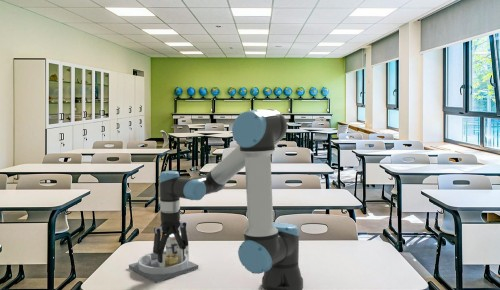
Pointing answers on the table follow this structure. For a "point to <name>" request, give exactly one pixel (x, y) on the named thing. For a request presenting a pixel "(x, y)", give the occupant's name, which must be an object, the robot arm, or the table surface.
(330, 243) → the table surface
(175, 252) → the ink box
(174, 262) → the tan hollow cylinder
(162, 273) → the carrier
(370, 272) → the table surface
